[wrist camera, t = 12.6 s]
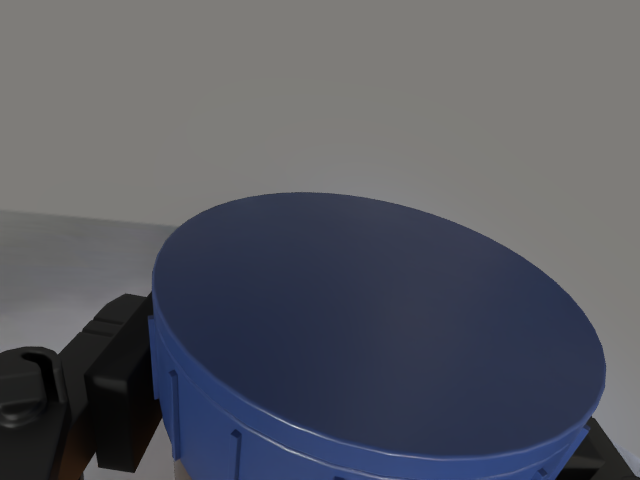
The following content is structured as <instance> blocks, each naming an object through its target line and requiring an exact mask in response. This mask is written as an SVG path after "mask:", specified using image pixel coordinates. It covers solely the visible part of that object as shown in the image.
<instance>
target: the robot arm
mask: <svg viewBox="0 0 640 480" xmlns="http://www.w3.org/2000/svg"><path fill="white" fill-rule="evenodd" d="M151 315H154V314H153V299H152V291H151V293H150V294H149V295H148V296H147V297H143V296H137V295H132V294H124V295H122V296H120V297H118V298H116V299H115V300H113V301H111V302H109V303H107V304H106V305H105V306H104V307H103V308H102V309H101V310H100V311H99V312H98V313H97V315H96V316H95V317H94V319H93V320H91V321H90V322H89V323H88V324H87V325H86V326H85V327H84V328H83V330H82V332H79V333H78V334H77V335H76V336H75V337H74V339H73V340H72V341H71V342H70V343H69V344H68V345H67V346H66V347H65V348H64V349H63V350H62V351H61V352H60V353H59V354H58V355H57V353H56V352H55V351H53V350H50V349H47V348H44V347H21V348H16V349H12V350H7V351H5V352H2V353H0V480H84V476H83V471H84V470H85V468H86V466H87V465H88V463H89V462H90V460H91V458H92V457H93V455H94V454H95V452H96V456H97V462H98V467H99V468H106V469H112V470H118V471H124V472H131V473H135V471H136V469H137V467H138V465H139V463H140V461H141V459H142V457H143V455H144V453H145V451H146V449H147V447H148V445H149V443H150V441H151V439H152V437H153V435H154V433H155V431H156V429H157V427H158V425H159V423H160V421H161V419H162V417H163V416H162V411H161V406H160V400H159V399H154V388H153V375H152V363H151V350H150V337H149V324H148V316H151ZM586 425H588V426H589V427H590V430H589V432H588V433H587V435H586V436H585V438H584V439H583V441H582V442H581V443H580V445H579V446H578V448H577V449H576V450H575V452H574V453H573V455H572V456H571V458H570V459H569V460H568V462H567V463H566V465H565V466H564V467H563V469H562V470H561V472H560V473H559V474H558V476H557V477H556V479H555V480H640V477H637V476H635V475H634V473H633V472H632V470H631V469H630V468H629V466H628V465H627V463H626V462H625V461H624V459H623V458H622V456H621V455H620V453H619V452H618V451H617V449H616V448H615V446H614V445H613V444H612V442H611V441H610V439H609V438H608V436H607V435H606V434H605V432H604V431H603V430H602V428H601V427H600V425H599V424H598V422H597V421H596V420H595V419H594V418H592V415H591V417H590V418H589V420H588V421H587V423H586Z"/></svg>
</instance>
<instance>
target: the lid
mask: <svg viewBox="0 0 640 480" xmlns="http://www.w3.org/2000/svg"><path fill="white" fill-rule="evenodd" d="M152 299H153V314H154V315H151V316H148V324H149V337H150V350H151V363H152V375H153V388H154V399H159V400H160V406H161V411H162V416H163V422H164V425H165V428H166V431H167V433H168V436H169V439H170V441H171V444H172V457H173V459H174V460H175V461H177V460H179V459H180V461H181V463H182V464H183V466H184V468H185V470H186V471H187V473H188V475H189V476H190V477H191V478H192V480H555V479H556V477H557V476H558V474H559V473H560V472H561V470H562V469H563V467H564V466H565V465H566V463H567V462H568V460H569V459H570V458H571V456H572V455H573V453H574V452H575V450H576V449H577V448H578V446H579V445H580V443H581V442H582V441H583V439H584V438H585V436H586V435H587V433H588V432H589V430H590V427H589V426H588V425H586V423H587V421H588V420H589V418H590V417H591V415H592V414H593V412H594V411H595V410H596V408H597V406H598V404H599V401H600V399H601V396H602V394H603V391H604V388H605V376H606V363H605V358H604V353H603V348H602V345H601V343H600V341H599V338H598V336H597V334H596V331H595V329H594V327H593V326H592V324H591V323H590V321H589V320H588V318H587V316H586V315H585V313H584V312H583V311H582V309H581V308H580V307H579V306H578V305H577V303H576V302H575V301H574V300H573V299H572V298H571V296H570V295H569V294H568V293H567V292H565V291H564V290H563V289H562V288H561V287H560V286H559V285H558V284H557V283H556V282H555V281H554V280H553V279H551V278H550V277H549V276H548V275H546V274H545V273H544V272H543V271H541V270H540V269H539V268H537V267H536V266H535V265H533V264H532V263H530V262H529V261H527V260H526V259H525V258H523V257H521V256H520V255H518V254H517V253H515V252H513V251H512V250H510V249H508V248H507V247H505V246H503V245H501V244H499V243H498V242H496V241H494V240H492V239H490V238H488V237H486V236H484V235H482V234H480V233H478V232H476V231H473V230H471V229H469V228H467V227H464V226H462V225H460V224H457V223H455V222H452V221H450V220H447V219H444V218H441V217H438V216H436V215H433V214H430V213H426V212H423V211H420V210H416V209H413V208H410V207H406V206H402V205H398V204H394V203H389V202H385V201H380V200H375V199H370V198H364V197H356V196H350V195H341V194H330V193H310V192H309V193H308V192H307V193H306V192H303V193H302V192H295V193H276V194H267V195H260V196H253V197H247V198H243V199H238V200H234V201H230V202H227V203H224V204H221V205H218V206H215V207H213V208H210V209H208V210H206V211H203V212H201V213H199V214H198V215H196V216H194V217H193V218H191V219H189V220H187V221H186V222H185V223H184V224H182V225H181V226H180V227H178V228H177V229H176V230H175V231H174V232H173V233H172V234H171V235H170V237H169V238H168V239H167V240H166V241H165V243H164V244H163V246H162V248H161V250H160V251H159V253H158V255H157V258H156V261H155V264H154V268H153V271H152Z"/></svg>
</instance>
